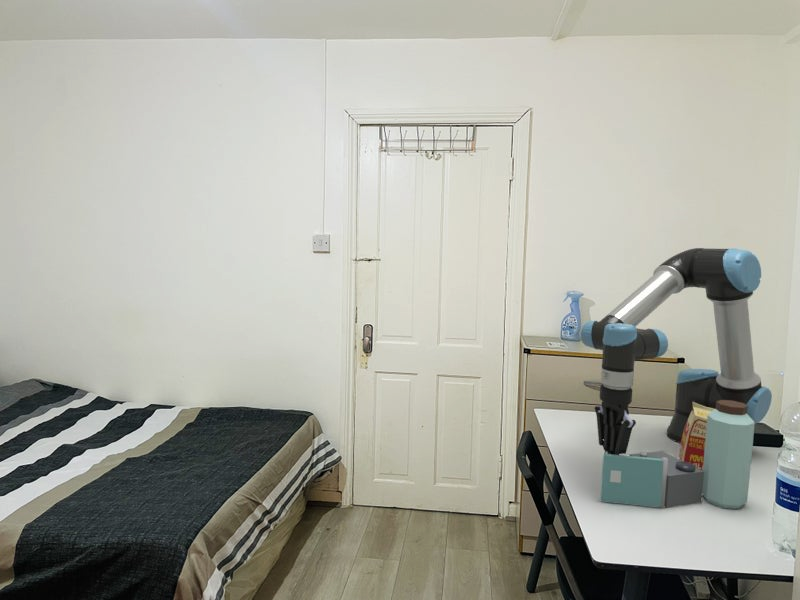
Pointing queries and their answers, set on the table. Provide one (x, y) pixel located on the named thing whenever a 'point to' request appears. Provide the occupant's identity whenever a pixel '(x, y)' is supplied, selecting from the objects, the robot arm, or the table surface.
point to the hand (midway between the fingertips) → (610, 476)
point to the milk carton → (695, 436)
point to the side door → (634, 480)
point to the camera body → (679, 480)
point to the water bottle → (728, 454)
